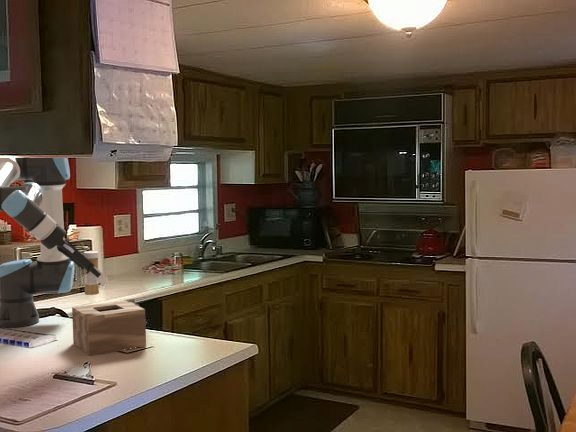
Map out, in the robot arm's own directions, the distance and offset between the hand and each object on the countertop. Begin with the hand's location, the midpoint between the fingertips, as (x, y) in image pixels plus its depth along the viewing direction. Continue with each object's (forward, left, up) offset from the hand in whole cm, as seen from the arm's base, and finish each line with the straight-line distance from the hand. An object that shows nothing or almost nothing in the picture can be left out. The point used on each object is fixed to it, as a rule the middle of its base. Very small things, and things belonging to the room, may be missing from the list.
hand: (103, 281), depth 218 cm
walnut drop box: (-1, +1, -21) cm, 21 cm away
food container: (-17, +13, -21) cm, 30 cm away
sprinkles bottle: (0, -4, -4) cm, 6 cm away
